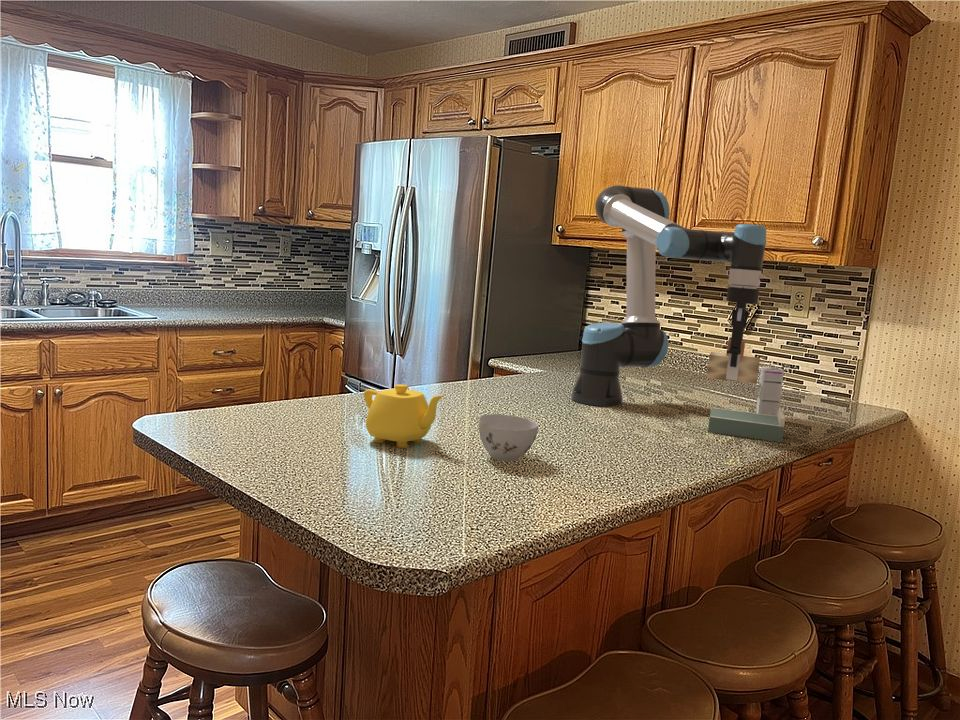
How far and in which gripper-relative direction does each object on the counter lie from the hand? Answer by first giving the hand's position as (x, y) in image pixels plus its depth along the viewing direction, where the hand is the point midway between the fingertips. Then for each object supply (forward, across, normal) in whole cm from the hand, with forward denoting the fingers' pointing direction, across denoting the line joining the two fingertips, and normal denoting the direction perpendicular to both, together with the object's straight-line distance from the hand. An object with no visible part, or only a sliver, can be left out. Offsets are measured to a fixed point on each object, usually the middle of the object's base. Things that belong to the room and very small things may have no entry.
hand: (732, 377), depth 192 cm
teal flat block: (+15, +7, -4) cm, 17 cm away
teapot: (+15, -57, +64) cm, 87 cm away
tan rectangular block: (0, 0, 0) cm, 0 cm away
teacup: (+15, -55, +41) cm, 70 cm away
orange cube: (-6, 0, 0) cm, 6 cm away
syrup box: (+15, +34, -10) cm, 39 cm away
